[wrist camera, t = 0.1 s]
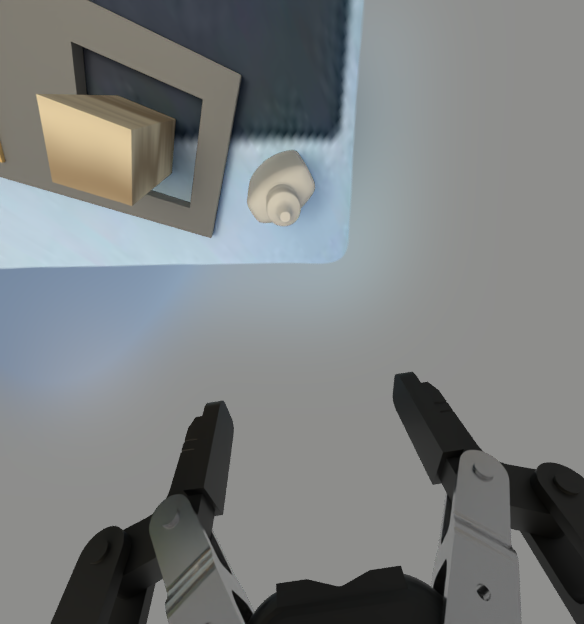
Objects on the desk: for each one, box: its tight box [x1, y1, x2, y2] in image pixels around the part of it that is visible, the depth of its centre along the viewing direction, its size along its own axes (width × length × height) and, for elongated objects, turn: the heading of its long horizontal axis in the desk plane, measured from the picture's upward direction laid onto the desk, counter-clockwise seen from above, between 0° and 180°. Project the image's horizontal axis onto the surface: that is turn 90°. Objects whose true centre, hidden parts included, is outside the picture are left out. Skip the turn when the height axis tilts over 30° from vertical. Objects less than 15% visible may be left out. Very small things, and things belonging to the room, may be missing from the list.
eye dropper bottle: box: [247, 150, 315, 226], centre depth 21 cm, size 4×6×12 cm
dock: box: [0, 0, 242, 238], centre depth 20 cm, size 14×30×2 cm, turn 70°
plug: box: [36, 94, 176, 206], centre depth 19 cm, size 4×4×10 cm
